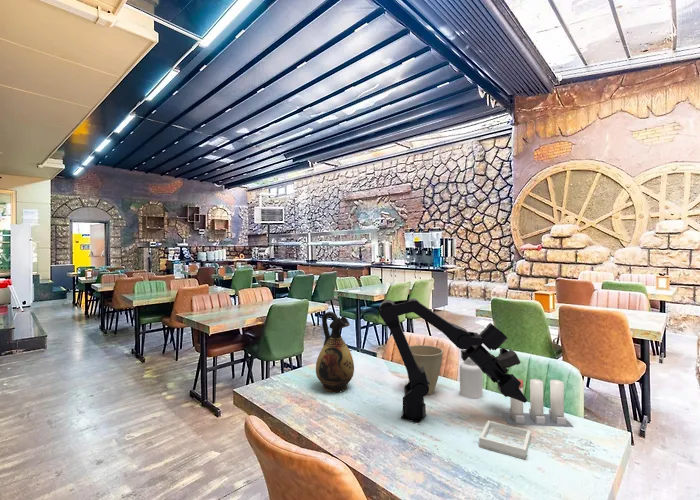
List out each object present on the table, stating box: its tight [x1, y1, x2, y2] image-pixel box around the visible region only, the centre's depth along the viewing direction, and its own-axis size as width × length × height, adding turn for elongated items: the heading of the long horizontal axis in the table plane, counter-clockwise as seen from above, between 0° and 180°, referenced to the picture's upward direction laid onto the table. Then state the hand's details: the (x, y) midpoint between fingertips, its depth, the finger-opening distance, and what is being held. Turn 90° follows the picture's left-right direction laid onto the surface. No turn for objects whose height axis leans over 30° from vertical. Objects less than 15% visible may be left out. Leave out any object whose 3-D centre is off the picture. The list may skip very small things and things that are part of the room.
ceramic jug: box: [315, 311, 355, 393], centre depth 141 cm, size 17×15×30 cm
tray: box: [478, 420, 532, 460], centre depth 99 cm, size 12×12×2 cm
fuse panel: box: [499, 378, 575, 428], centre depth 110 cm, size 19×8×13 cm, turn 83°
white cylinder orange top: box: [509, 378, 524, 420], centre depth 111 cm, size 4×4×12 cm
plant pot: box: [409, 344, 444, 396], centre depth 136 cm, size 15×15×16 cm
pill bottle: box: [459, 357, 484, 400], centre depth 130 cm, size 8×8×15 cm
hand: (521, 396), depth 111 cm, fingers open, 8 cm apart
